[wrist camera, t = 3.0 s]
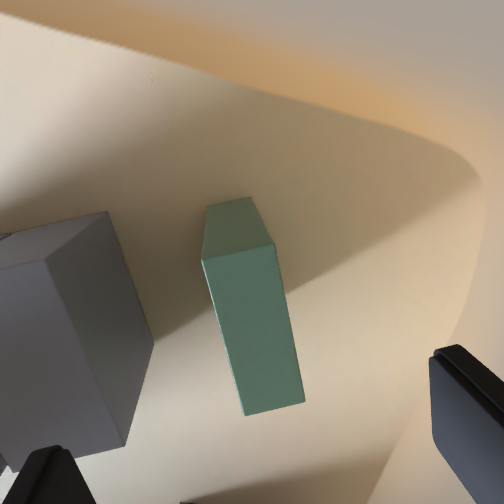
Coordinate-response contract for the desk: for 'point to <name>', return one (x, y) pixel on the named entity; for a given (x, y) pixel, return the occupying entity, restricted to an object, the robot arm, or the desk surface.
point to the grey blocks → (68, 340)
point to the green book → (251, 307)
